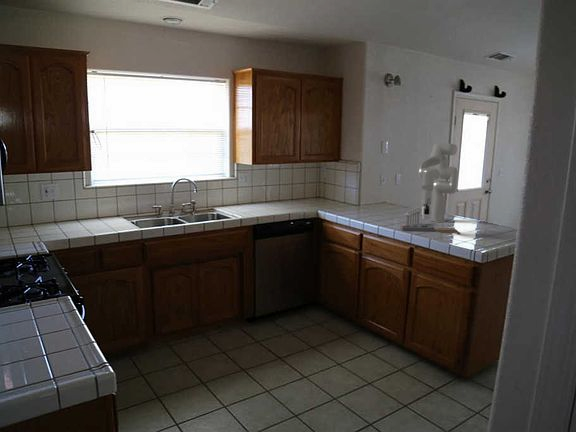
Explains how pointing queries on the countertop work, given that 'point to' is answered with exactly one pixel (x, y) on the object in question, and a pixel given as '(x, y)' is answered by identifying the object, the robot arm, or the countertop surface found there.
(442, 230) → the walnut board
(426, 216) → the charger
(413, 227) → the power strip
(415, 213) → the test tube rack
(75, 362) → the countertop surface
